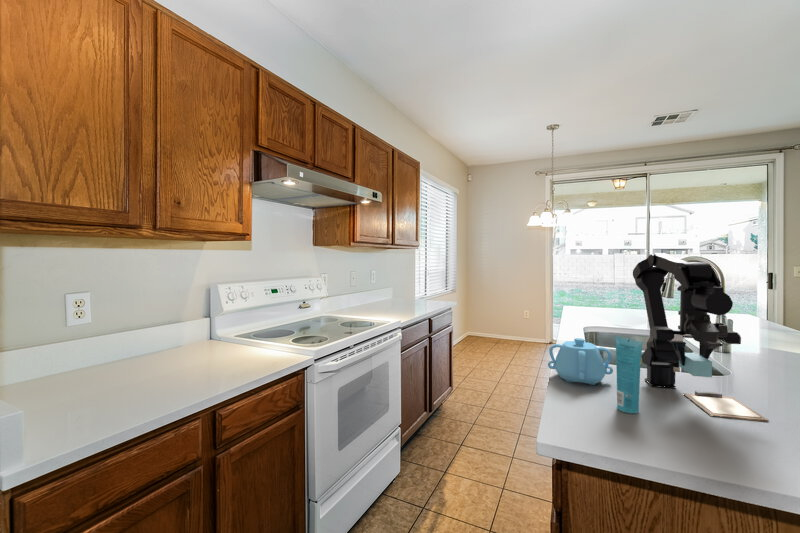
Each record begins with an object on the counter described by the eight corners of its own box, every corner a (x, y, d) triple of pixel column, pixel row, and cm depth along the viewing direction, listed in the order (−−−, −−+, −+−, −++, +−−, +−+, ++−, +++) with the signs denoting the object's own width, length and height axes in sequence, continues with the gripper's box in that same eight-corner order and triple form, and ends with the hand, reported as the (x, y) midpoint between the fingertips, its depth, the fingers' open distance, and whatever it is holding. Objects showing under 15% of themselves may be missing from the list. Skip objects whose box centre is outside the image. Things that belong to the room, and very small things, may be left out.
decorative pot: (619, 385, 116) (620, 342, 115) (578, 390, 111) (578, 346, 111) (580, 369, 131) (580, 332, 131) (543, 374, 127) (543, 335, 126)
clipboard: (710, 416, 93) (710, 410, 93) (682, 394, 107) (682, 389, 107) (768, 421, 90) (769, 416, 90) (732, 398, 104) (732, 393, 104)
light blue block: (711, 377, 93) (712, 361, 93) (693, 375, 94) (693, 360, 94) (693, 365, 103) (693, 351, 102) (676, 364, 104) (676, 350, 104)
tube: (647, 413, 95) (648, 340, 94) (637, 417, 93) (638, 342, 92) (618, 403, 101) (619, 334, 101) (608, 407, 99) (608, 337, 98)
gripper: (665, 312, 93) (664, 372, 94) (755, 315, 88) (753, 379, 88) (649, 306, 104) (648, 360, 105) (729, 308, 99) (727, 365, 99)
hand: (692, 366), depth 99 cm, fingers closed on light blue block, 4 cm apart
